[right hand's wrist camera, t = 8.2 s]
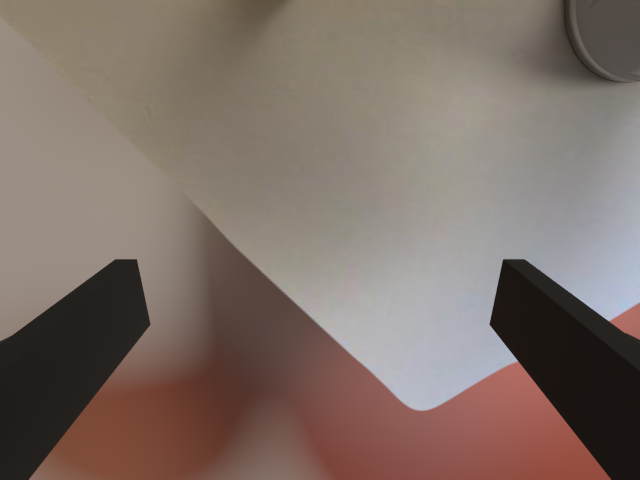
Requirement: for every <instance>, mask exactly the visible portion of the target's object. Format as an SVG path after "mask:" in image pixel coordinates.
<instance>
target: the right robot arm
mask: <svg viewBox="0 0 640 480" xmlns="http://www.w3.org/2000/svg"><path fill="white" fill-rule="evenodd" d="M565 18H566V26H567V32H568V35H569V39H570V42H571V44H572V46H573V49H574V51H575V52H576V54H577V56H578V57H579V58H580V60H581V61H582V62H583V63H584V64H585V65H586V66H587V67H588V68H589V69H590V70H592V71H593V72H594V73H596V74H598V75H599V76H602V77H604V78H606V79H610V80H614V81H620V82H637V81H640V0H566V1H565ZM149 326H150V320H149V315H148V311H147V306H146V301H145V297H144V292H143V287H142V282H141V277H140V272H139V268H138V263H137V260H136V259H116V260H114V261H113V262H111V263H110V264H109V265H107V266H106V267H104V268H103V269H102V270H100V271H99V272H98V273H96V274H95V275H94V276H92V277H91V278H90V279H88V280H87V281H85V282H84V283H83V284H82V285H80V286H79V287H77V288H76V289H75V290H73V291H72V292H71V293H69V294H68V295H66V296H65V297H64V298H62V299H61V300H60V301H58V302H57V303H56V304H54V305H53V306H52V307H50V308H49V309H48V310H46V311H45V312H44V313H42V314H41V315H39V316H38V317H37V318H35V319H34V320H33V321H31V322H30V323H29V324H27V325H26V326H24V327H23V328H22V329H20V330H19V331H18V332H16V333H15V334H14V335H12V336H10V337H8V338H6V339H4V340H2V341H0V480H29V478H30V477H31V476H32V475H33V473H34V472H35V471H36V470H37V468H38V467H39V466H40V464H41V463H42V462H43V461H44V459H45V458H46V457H47V455H48V454H49V453H50V452H51V450H52V449H53V448H54V447H55V445H56V444H57V443H58V442H59V440H60V439H61V438H62V436H63V435H64V434H65V433H66V431H67V430H68V429H69V428H70V426H71V425H72V424H73V422H74V421H75V420H76V419H77V417H78V416H79V415H80V413H81V412H82V411H83V410H84V408H85V407H86V406H87V405H88V403H89V402H90V401H91V399H92V398H93V397H94V396H95V394H96V393H97V392H98V391H99V389H100V388H101V387H102V386H103V384H104V383H105V382H106V380H107V379H108V378H109V377H110V375H111V374H112V373H113V372H114V370H115V369H116V368H117V366H118V365H119V364H120V363H121V361H122V360H123V359H124V357H125V356H126V355H127V354H128V352H129V351H130V350H131V348H132V347H133V346H134V345H135V344H136V342H137V341H138V340H139V338H140V337H141V336H142V335H143V333H144V332H145V331H146V329H147V328H148V327H149ZM490 326H491V327H492V328H493V330H494V331H495V332H496V333H497V335H498V336H499V337H500V338H501V340H502V341H503V342H504V344H505V345H506V346H507V347H508V349H509V350H510V351H511V352H512V354H513V355H514V356H515V358H516V359H517V360H518V361H519V363H520V364H521V365H522V366H523V368H524V369H525V370H526V371H527V373H528V374H529V375H530V377H531V378H532V379H533V380H534V382H535V383H536V384H537V386H538V387H539V388H540V389H541V391H542V392H543V393H544V394H545V396H546V397H547V398H548V399H549V401H550V402H551V403H552V405H553V406H554V407H555V408H556V410H557V411H558V412H559V413H560V415H561V416H562V417H563V419H564V420H565V421H566V422H567V424H568V425H569V426H570V428H571V429H572V430H573V431H574V433H575V434H576V435H577V436H578V438H579V439H580V440H581V442H582V443H583V444H584V445H585V447H586V448H587V449H588V450H589V452H590V453H591V454H592V456H593V457H594V458H595V459H596V461H597V462H598V463H599V464H600V466H601V467H602V468H603V469H604V471H605V472H606V473H607V475H608V476H609V477H610V478H611V480H640V340H639V339H637V338H635V337H633V336H631V335H629V334H627V333H624V332H622V331H621V330H620V329H618V328H617V327H616V326H614V325H613V324H611V323H610V322H609V321H607V320H606V319H605V318H603V317H602V316H601V315H599V314H598V313H597V312H595V311H594V310H593V309H591V308H590V307H588V306H587V305H586V304H584V303H583V302H582V301H580V300H579V299H578V298H576V297H575V296H574V295H572V294H571V293H569V292H568V291H567V290H565V289H564V288H563V287H561V286H560V285H559V284H557V283H556V282H555V281H553V280H552V279H550V278H549V277H548V276H546V275H545V274H544V273H542V272H541V271H540V270H538V269H537V268H536V267H534V266H533V265H531V264H530V263H529V262H527V261H526V260H525V259H503V263H502V268H501V272H500V277H499V282H498V287H497V292H496V296H495V301H494V306H493V311H492V315H491V320H490Z"/></svg>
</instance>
